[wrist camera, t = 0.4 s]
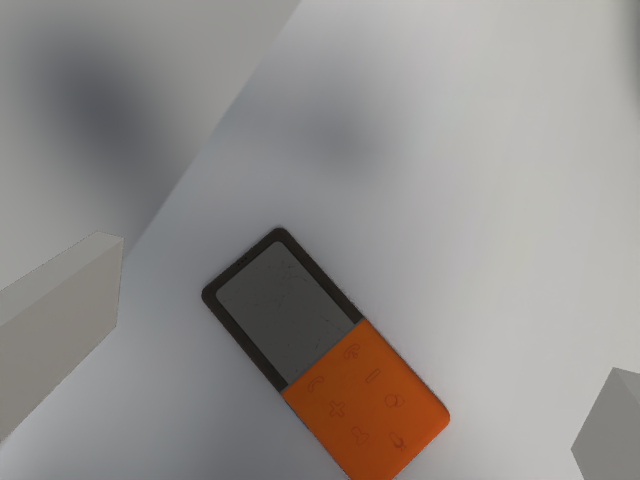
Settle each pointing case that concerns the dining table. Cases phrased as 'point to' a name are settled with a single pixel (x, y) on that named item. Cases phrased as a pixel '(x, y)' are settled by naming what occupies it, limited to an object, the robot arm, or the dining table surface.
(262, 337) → the phone
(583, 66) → the dining table surface
